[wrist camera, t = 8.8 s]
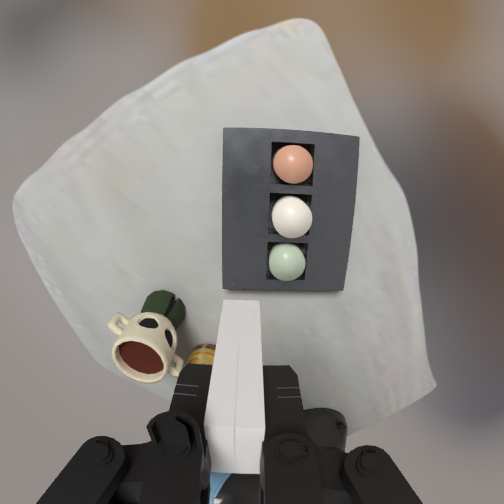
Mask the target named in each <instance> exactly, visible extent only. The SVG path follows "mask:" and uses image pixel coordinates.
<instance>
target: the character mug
mask: <svg viewBox="0 0 504 504" xmlns="http://www.w3.org/2000/svg"><path fill="white" fill-rule="evenodd" d="M173 295H174V294H173V293H171V292H168V291H164V290H161V291H154V292H153V293H151V294H150V295H149V296H148V297H147V298H146V301H145V303H144V305H143V308H142V310H141V313H139V314H136V315H135V316H133V317H132V318H130V319H128V318H127V317H125V316H124V315H123V314H122V313H120V312H118V313H115V314H114V316H113V317H112V318H111V320H110V321H109V323H108V328H109V329H110V330H111V331H112V332H114V333H115V334H116V335H117V336H118V338H117V340H116V341H115V343H114V346H113V349H112V358H113V361H114V363H115V364H116V366H117V368H118V369H119V370H120V371H121V372H122V373H123V374H124V375H125V376H127V377H129V378H131V379H133V380H135V381H138V382H142V383H156V382H158V381H160V380H162V379H164V377H165V375H166V374H167V372H168V373H170V374H171V375H173V376H175V377H178V376H179V373H180V371H181V370H182V367H183V364H184V362H183V360H182V358H180V357H179V356H177V355H176V354H175V350H176V347H177V343H178V342H177V333H176V330H177V328H178V327H179V325H180V323H181V321H182V319H183V317H184V315H185V313H184V306H183V304H182V302H181V300H180V299H179V298H178V300H177V301H176V303H175V302H174V300H172V297H173ZM119 321H120V322H121V323H122V324H123V325H125V327H124V328H123V330H122V329H121V328H120V327H119V326H117V324H118V322H119ZM171 361H173V362H175V363H176V366H175V368H174V367H173V366H171V365H170V364H171Z"/></svg>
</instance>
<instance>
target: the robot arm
mask: <svg viewBox="0 0 504 504" xmlns="http://www.w3.org/2000/svg"><path fill="white" fill-rule="evenodd" d="M147 429H148V432H149V435H150V437H151V440H152V441H150V442H148V443H143V444H135V445H121V444H120V443H119V442H118V441H116V440H115V439H113V438H110V437H107V436H96V437H94V438H91V439H89V440H87V441H86V442H85V443H84V444H83V445H82V446H81V447H80V449H79V450H78V451H77V452H76V454H75V455H74V456H73V458H72V459H71V460H70V461H69V463H68V464H67V465H66V466H65V468H64V469H63V470H62V471H61V473H60V474H59V475H58V477H57V478H56V479H55V480H54V482H53V483H52V484H51V485H50V487H49V488H48V489H47V490H46V492H45V493H44V494H43V495H42V497H41V498H40V499H39V501H38V502H37V503H36V504H423V503H422V502H421V501H420V499H419V498H418V496H417V495H416V493H415V492H414V491H413V490H412V488H411V486H410V485H409V483H408V482H407V481H406V479H405V477H404V476H403V475H402V473H401V472H400V470H399V469H398V467H397V466H396V465H395V463H394V462H393V461H392V459H391V457H390V456H389V455H388V454H387V453H386V452H385V451H384V450H383V449H381V448H379V447H376V446H370V445H369V446H368V445H366V446H361V447H357V448H355V449H354V450H352V451H350V452H349V453H345V445H346V437H347V424H346V421H345V418H344V416H343V415H342V414H341V413H339V412H338V411H335V410H332V409H325V408H317V409H309V410H304V411H303V405H302V399H301V394H300V389H299V382H298V377H297V374H296V373H295V372H294V370H293V369H292V368H291V367H290V365H284V366H262V346H261V325H260V304H259V301H248V300H224V302H223V307H222V313H221V319H220V325H219V331H218V337H217V343H216V349H215V355H214V362H213V365H208V364H193V363H188V364H187V365H186V366H185V367H184V368H183V369H182V370H181V371H180V373H179V376H178V380H177V385H176V387H175V390H174V395H173V398H172V401H171V405H170V409H169V411H167V412H164V413H161V414H158V415H156V416H155V417H154V418H153V419H151V420H150V422H149V424H148V425H147ZM210 471H211V473H210Z"/></svg>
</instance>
